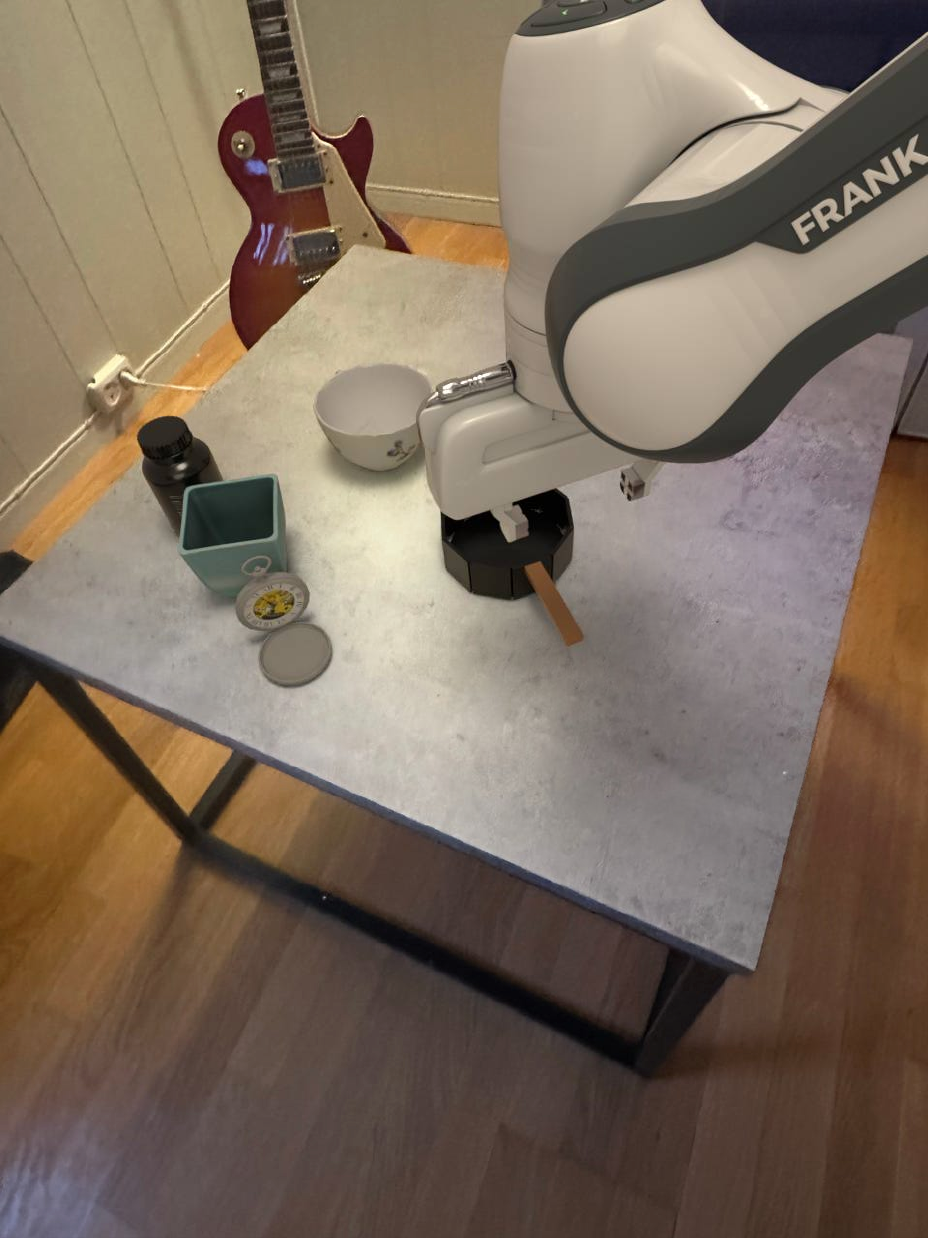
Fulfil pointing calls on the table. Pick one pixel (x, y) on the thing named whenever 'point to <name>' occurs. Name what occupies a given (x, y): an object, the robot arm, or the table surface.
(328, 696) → the table surface
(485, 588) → the saucepan
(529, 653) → the table surface
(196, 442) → the supplement bottle
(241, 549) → the flower pot
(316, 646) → the pocket watch
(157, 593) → the table surface
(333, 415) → the white floral bowl
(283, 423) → the table surface
